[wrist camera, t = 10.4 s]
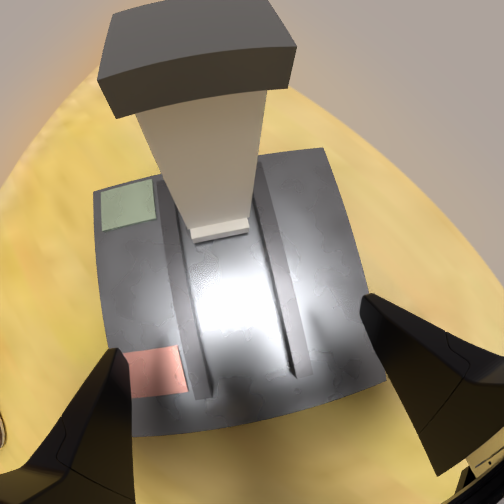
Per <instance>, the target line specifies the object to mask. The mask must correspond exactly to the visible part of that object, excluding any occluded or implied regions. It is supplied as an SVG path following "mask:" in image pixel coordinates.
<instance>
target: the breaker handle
mask: <svg viewBox="0 0 504 504" xmlns="http://www.w3.org/2000/svg"><path fill="white" fill-rule="evenodd" d="M296 49H297V46H296V44H295V42H294V40H293V39H292V37H291V36H290V34H289V32H288V31H287V29H286V27H285V26H284V24H283V23H282V21H281V19H280V18H279V17H278V15H277V13H276V12H275V10H274V9H273V7H272V6H271V4H270V3H269V1H268V0H165V1H160V2H156V3H151V4H147V5H143V6H139V7H136V8H132V9H128V10H125V11H121V12H118V13H115V14H113V16H112V19H111V22H110V26H109V29H108V33H107V37H106V41H105V45H104V49H103V53H102V58H101V62H100V67H99V72H98V78H97V81H98V84H99V86H100V88H101V90H102V92H103V94H104V96H105V98H106V100H107V102H108V104H109V106H110V108H111V110H112V112H113V114H114V116H115V118H116V119H118V118H122V117H125V116H129V115H132V114H135V115H136V117H137V120H138V122H139V124H140V127H141V129H142V131H143V134H144V136H145V138H146V140H147V143H148V145H149V147H150V150H151V152H152V154H153V156H154V158H155V161H156V163H157V165H158V167H159V169H160V172H161V174H162V176H163V178H164V180H165V183H166V185H167V187H168V189H169V191H170V193H171V195H172V197H173V200H174V202H175V204H176V206H177V208H178V210H179V212H180V214H181V216H182V218H183V220H184V222H185V225H186V227H187V229H190V232H191V238H192V241H193V243H198V242H203V241H208V240H213V239H218V238H223V237H228V236H233V235H238V234H243V233H248V232H249V223H248V219H247V218H248V217H249V216H250V209H251V201H252V194H253V187H254V180H255V172H256V165H257V158H258V151H259V144H260V137H261V130H262V123H263V116H264V109H265V102H266V95H267V90H274V89H288V84H289V80H290V75H291V71H292V67H293V62H294V58H295V53H296Z"/></svg>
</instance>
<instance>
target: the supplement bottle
mask: <svg viewBox="0 0 504 504" xmlns="http://www.w3.org/2000/svg"><path fill="white" fill-rule="evenodd" d="M4 440H5V432H4V427H3V423H2V420H1V417H0V448H1V447H2V446H3V444H4Z"/></svg>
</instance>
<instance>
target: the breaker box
mask: <svg viewBox="0 0 504 504" xmlns="http://www.w3.org/2000/svg"><path fill="white" fill-rule="evenodd" d="M93 208H94V237H95V252H96V264H97V275H98V284H99V292H100V300H101V307H102V314H103V320H104V326H105V332H106V337H107V342H108V347H109V349H110V348H119V349H120V350H121V352H122V353H123V355H124V356H125V358H126V359H127V361H128V363H129V371H130V385H131V397H132V437H146V436H161V435H173V434H183V433H192V432H199V431H207V430H213V429H220V428H226V427H231V426H237V425H242V424H247V423H252V422H257V421H261V420H266V419H270V418H274V417H278V416H282V415H286V414H290V413H294V412H297V411H301V410H305V409H308V408H311V407H315V406H318V405H321V404H324V403H328V402H331V401H334V400H337V399H340V398H343V397H345V396H348V395H351V394H354V393H356V392H359V391H362V390H364V389H367V388H370V387H372V386H375V385H377V384H380V383H382V382H384V381H387V380H386V374H385V369H384V368H383V366H382V364H381V362H380V360H379V358H378V357H377V355H376V353H375V351H374V349H373V347H372V344H371V342H370V339H369V337H368V335H367V332H366V330H365V328H364V325H363V323H362V320H361V318H360V315H359V310H360V304H361V298H362V296H363V295H366V294H369V291H368V287H367V283H366V279H365V275H364V271H363V268H362V264H361V260H360V257H359V253H358V250H357V246H356V243H355V239H354V236H353V233H352V229H351V226H350V223H349V220H348V216H347V213H346V210H345V207H344V204H343V201H342V198H341V195H340V192H339V189H338V186H337V184H336V181H335V178H334V175H333V172H332V170H331V167H330V164H329V162H328V159H327V156H326V154H325V151H324V148H313V149H304V150H295V151H287V152H279V153H272V154H265V155H258V158H257V165H256V172H255V180H254V187H253V194H252V201H251V209H250V216H249V217H248V218H247V219H248V223H249V232H248V233H243V234H238V235H233V236H228V237H223V238H218V239H213V240H208V241H203V242H198V243H193V241H192V238H191V232H190V229H187V227H186V225H185V222H184V220H183V218H182V216H181V214H180V212H179V210H178V208H177V206H176V204H175V202H174V200H173V197H172V195H171V193H170V191H169V189H168V187H167V185H166V183H165V180H164V178H163V176H162V174H159V175H154V176H150V177H146V178H142V179H138V180H134V181H130V182H126V183H123V184H119V185H115V186H112V187H108V188H105V189H101V190H98V191H94V192H93Z"/></svg>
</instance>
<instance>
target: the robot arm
mask: <svg viewBox="0 0 504 504" xmlns="http://www.w3.org/2000/svg"><path fill="white" fill-rule="evenodd" d="M359 315H360V318H361V320H362V323H363V325H364V328H365V330H366V332H367V335H368V337H369V339H370V342H371V344H372V347H373V349H374V351H375V353H376V355H377V357H378V358H379V360H380V362H381V364H382V366H383V368H384V369H385V371H386V373H387V375H388V377H389V379H390V381H391V383H392V385H393V386H394V388H395V390H396V392H397V394H398V396H399V398H400V400H401V402H402V404H403V406H404V408H405V410H406V412H407V414H408V416H409V418H410V420H411V422H412V424H413V426H414V428H415V430H416V432H417V434H418V437H419V439H420V441H421V443H422V445H423V447H424V449H425V451H426V454H427V456H428V458H429V460H430V462H431V465H432V467H433V469H434V471H435V473H436V475H437V477H438V476H440V475H441V474H443V473H444V472H446V471H447V470H449V469H450V468H452V467H453V466H455V465H456V464H458V463H459V462H461V461H462V460H463V459H466V460H467V462H468V464H469V466H468V467H466V468H465V469H464V470H462V472H461V476H460V479H459V482H458V485H457V488H456V491H455V494H454V495H453V496H452V497H450V498H449V499H447V500H446V501H444V502H443V503H441V504H504V357H503V356H499V355H497V354H494V353H492V352H489V351H487V350H485V349H482V348H480V347H477V346H475V345H473V344H471V343H468V342H466V341H464V340H462V339H460V338H458V337H456V336H454V335H452V334H450V333H448V332H445V331H444V330H443V329H441V328H439V327H437V326H435V325H433V324H431V323H429V322H427V321H426V320H424V319H422V318H420V317H418V316H416V315H414V314H412V313H410V312H408V311H406V310H405V309H403V308H401V307H399V306H397V305H395V304H393V303H391V302H389V301H387V300H385V299H383V298H381V297H379V296H377V295H376V294H373V293H369V294H366V295H363V296H362V298H361V304H360V310H359ZM0 504H136V502H135V490H134V477H133V457H132V397H131V385H130V371H129V363H128V361H127V359H126V358H125V356H124V355H123V353H122V352H121V350H120V349H119V348H110V349H108V350H107V351H106V352H105V354H104V355H103V356H102V358H101V359H100V361H99V362H98V363H97V365H96V366H95V367H94V369H93V370H92V372H91V373H90V374H89V376H88V377H87V379H86V380H85V382H84V383H83V384H82V386H81V387H80V389H79V390H78V392H77V393H76V394H75V396H74V397H73V399H72V400H71V402H70V403H69V405H68V406H67V408H66V409H65V411H64V412H63V414H62V417H60V418H59V420H58V421H57V423H56V424H55V426H54V427H53V428H52V430H51V431H50V433H49V434H48V436H47V437H46V438H45V439H44V441H43V442H42V443H41V445H40V446H39V447H38V448H37V450H36V451H35V452H34V454H33V455H32V456H31V457H30V459H29V460H28V461H27V462H26V463H25V464H24V465H23V466H22V467H20V468H18V469H16V470H13V471H10V472H7V473H4V474H0Z"/></svg>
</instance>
